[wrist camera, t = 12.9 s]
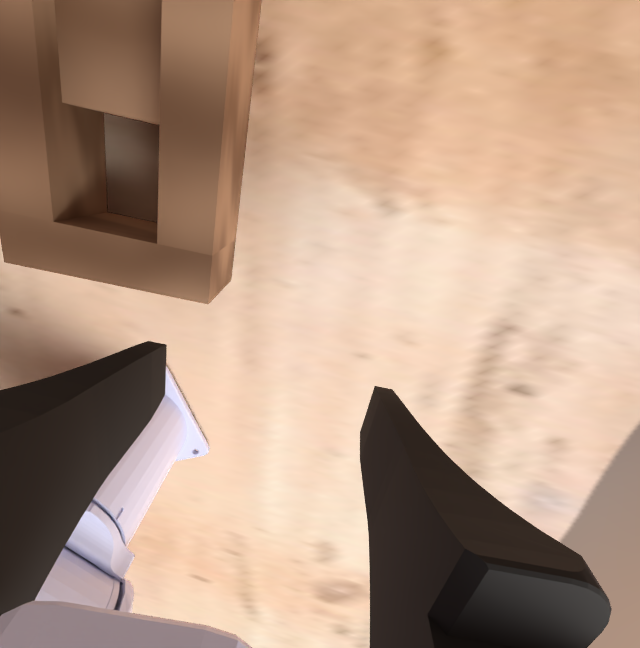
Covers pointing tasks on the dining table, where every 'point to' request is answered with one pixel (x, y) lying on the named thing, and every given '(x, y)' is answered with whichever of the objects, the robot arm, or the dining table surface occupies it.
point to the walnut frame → (134, 103)
